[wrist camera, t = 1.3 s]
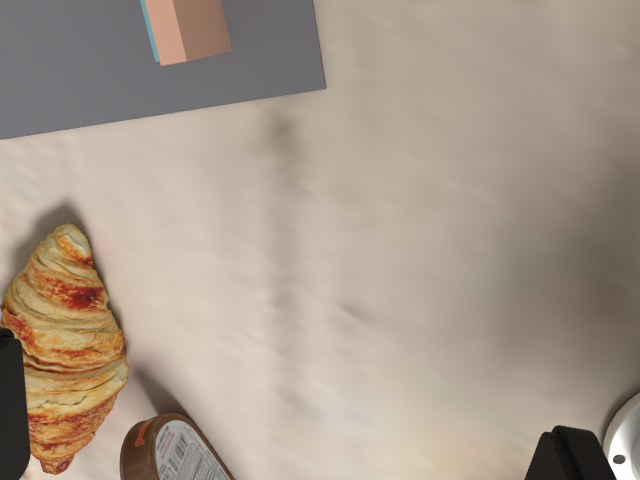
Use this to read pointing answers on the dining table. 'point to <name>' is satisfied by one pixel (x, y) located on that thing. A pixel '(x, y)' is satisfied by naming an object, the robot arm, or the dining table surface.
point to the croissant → (64, 346)
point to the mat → (142, 62)
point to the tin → (169, 451)
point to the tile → (185, 29)
